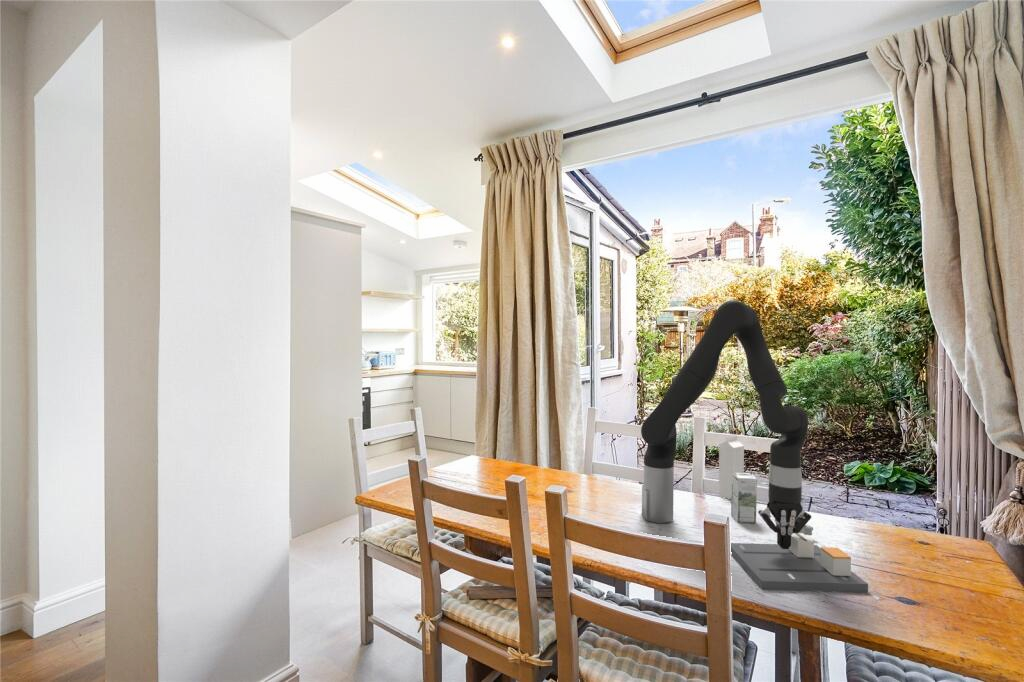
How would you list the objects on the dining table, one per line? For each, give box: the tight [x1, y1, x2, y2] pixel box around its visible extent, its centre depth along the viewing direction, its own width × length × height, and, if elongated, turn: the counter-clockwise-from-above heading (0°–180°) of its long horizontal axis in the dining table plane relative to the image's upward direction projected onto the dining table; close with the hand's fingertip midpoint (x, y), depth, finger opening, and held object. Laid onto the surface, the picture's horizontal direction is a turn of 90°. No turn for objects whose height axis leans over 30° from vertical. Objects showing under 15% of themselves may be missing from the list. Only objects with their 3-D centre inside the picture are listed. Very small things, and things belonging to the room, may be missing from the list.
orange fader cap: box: [820, 546, 852, 576], centre depth 115 cm, size 4×5×4 cm
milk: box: [718, 435, 745, 501], centre depth 173 cm, size 6×6×22 cm
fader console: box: [730, 542, 869, 593], centre depth 120 cm, size 24×20×2 cm
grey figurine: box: [795, 519, 814, 536], centre depth 139 cm, size 5×7×8 cm
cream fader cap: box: [789, 533, 815, 558], centre depth 124 cm, size 4×5×4 cm
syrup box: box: [730, 472, 758, 524], centre depth 152 cm, size 6×6×14 cm
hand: (784, 547), depth 124 cm, fingers closed
